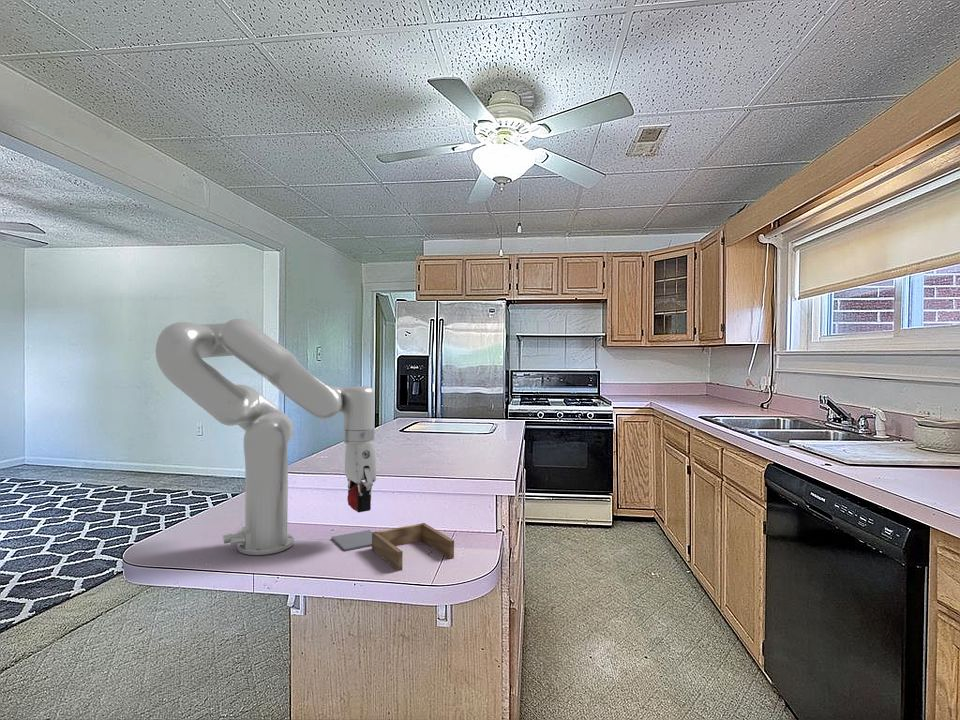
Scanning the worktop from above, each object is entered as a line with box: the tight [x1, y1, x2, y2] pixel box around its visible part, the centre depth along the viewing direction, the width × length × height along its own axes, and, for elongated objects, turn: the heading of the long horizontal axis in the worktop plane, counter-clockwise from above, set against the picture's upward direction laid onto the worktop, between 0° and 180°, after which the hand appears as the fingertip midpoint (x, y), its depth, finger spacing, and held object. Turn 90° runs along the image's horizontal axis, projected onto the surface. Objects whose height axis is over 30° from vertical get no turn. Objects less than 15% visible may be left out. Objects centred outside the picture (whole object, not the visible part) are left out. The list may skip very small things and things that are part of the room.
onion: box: [346, 480, 365, 513], centre depth 131 cm, size 6×6×8 cm
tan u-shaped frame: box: [371, 522, 455, 572], centre depth 123 cm, size 14×15×4 cm
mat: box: [331, 529, 373, 552], centre depth 131 cm, size 10×10×1 cm
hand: (359, 507), depth 131 cm, fingers closed on onion, 5 cm apart
